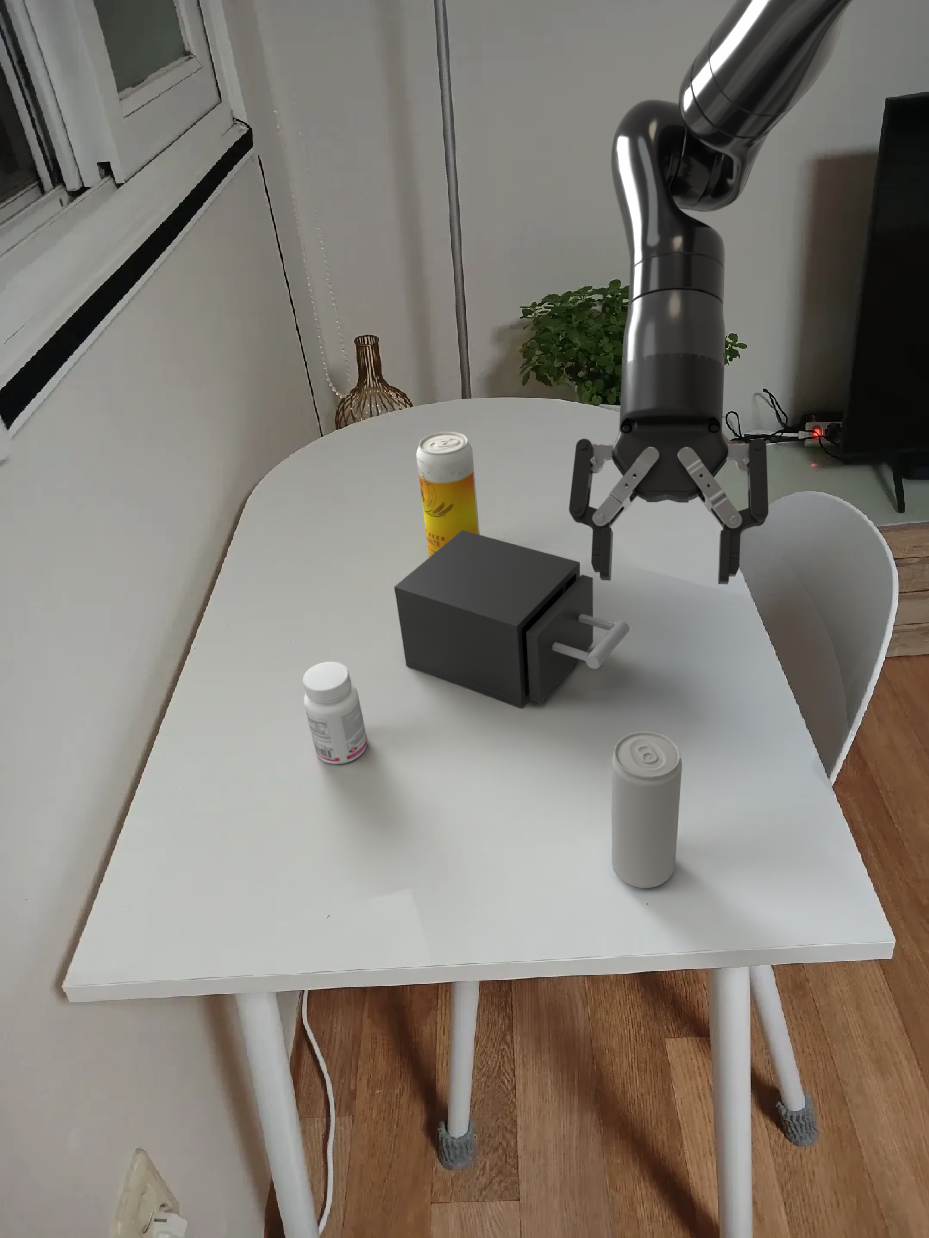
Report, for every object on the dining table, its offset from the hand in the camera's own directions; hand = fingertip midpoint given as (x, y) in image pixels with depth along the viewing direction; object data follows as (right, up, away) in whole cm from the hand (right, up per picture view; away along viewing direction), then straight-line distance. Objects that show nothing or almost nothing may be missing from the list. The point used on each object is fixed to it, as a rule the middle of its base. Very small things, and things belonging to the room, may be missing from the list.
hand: (663, 581), depth 70 cm
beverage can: (-1, -22, +3) cm, 22 cm away
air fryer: (-12, -6, +26) cm, 29 cm away
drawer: (-8, -7, +23) cm, 25 cm away
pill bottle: (-26, -15, +17) cm, 34 cm away
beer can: (-16, +4, +41) cm, 44 cm away
